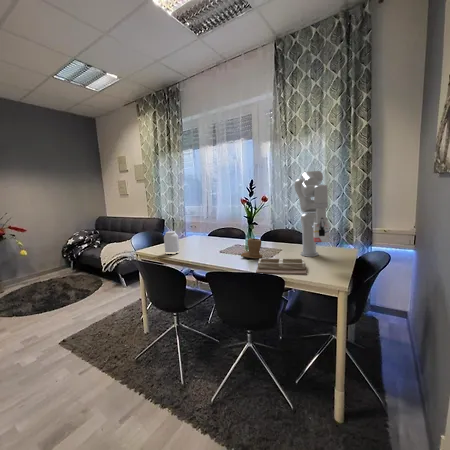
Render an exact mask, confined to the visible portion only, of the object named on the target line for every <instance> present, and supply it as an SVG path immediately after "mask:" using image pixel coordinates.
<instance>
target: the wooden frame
mask: <svg viewBox="0 0 450 450" xmlns="http://www.w3.org/2000/svg"><path fill="white" fill-rule="evenodd" d="M256 273H265V274H264V275H298V276H299V275H302V276H303V275H305V276H306V275H307V269H306V264H305V260H304V258H258V261H257V268H256V271H255V274H256Z"/></svg>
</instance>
